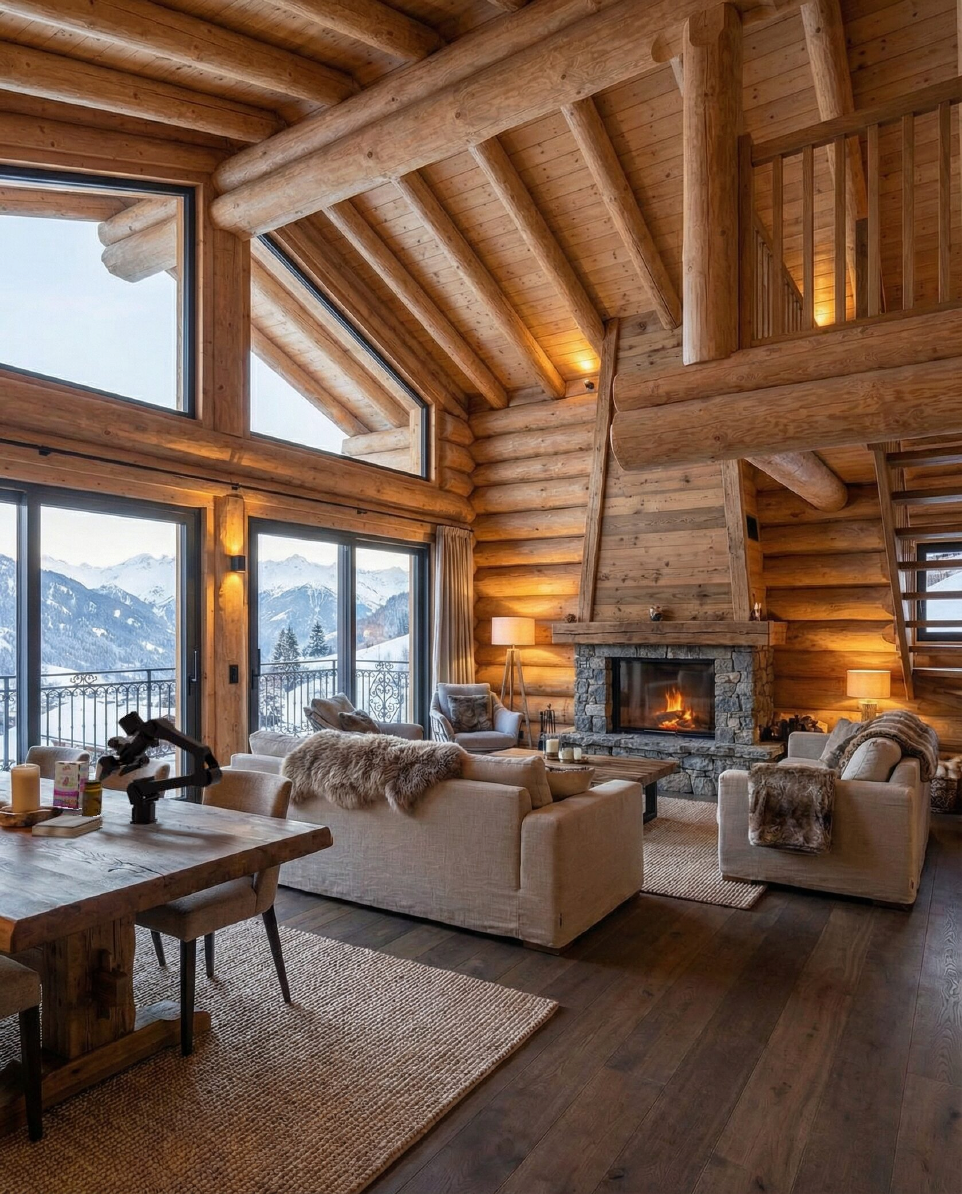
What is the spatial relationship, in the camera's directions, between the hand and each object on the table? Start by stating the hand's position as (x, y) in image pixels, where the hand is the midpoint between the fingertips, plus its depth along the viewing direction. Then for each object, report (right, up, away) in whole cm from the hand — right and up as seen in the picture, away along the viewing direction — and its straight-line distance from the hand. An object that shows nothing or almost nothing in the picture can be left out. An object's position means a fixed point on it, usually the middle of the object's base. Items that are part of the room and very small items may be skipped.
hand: (109, 778), depth 273 cm
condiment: (-8, -14, +2) cm, 16 cm away
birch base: (-5, -12, -18) cm, 22 cm away
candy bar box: (-20, -14, +14) cm, 28 cm away
